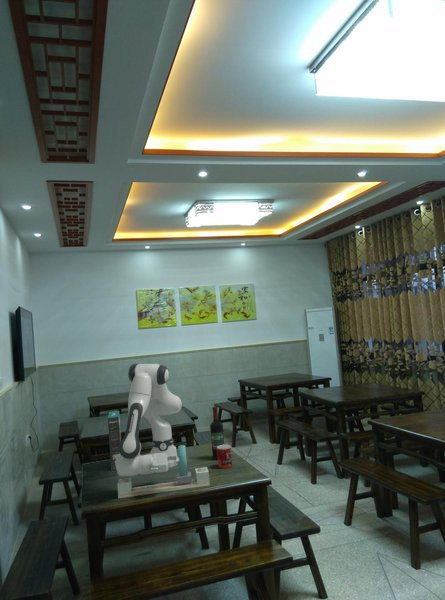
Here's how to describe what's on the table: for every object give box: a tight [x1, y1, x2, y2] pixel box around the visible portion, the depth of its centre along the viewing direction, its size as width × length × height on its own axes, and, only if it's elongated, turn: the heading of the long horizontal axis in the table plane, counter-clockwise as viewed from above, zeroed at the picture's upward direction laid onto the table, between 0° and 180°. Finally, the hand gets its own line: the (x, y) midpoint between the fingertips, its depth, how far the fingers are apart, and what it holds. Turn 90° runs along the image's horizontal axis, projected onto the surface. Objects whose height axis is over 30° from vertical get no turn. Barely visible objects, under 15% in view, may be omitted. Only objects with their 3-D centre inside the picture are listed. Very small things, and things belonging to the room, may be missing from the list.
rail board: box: [116, 466, 211, 499], centre depth 223 cm, size 8×44×7 cm, turn 99°
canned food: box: [217, 444, 233, 470], centre depth 250 cm, size 8×8×11 cm
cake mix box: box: [107, 410, 122, 472], centre depth 272 cm, size 22×6×30 cm, turn 12°
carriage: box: [176, 444, 193, 484], centre depth 225 cm, size 7×7×17 cm
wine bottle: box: [209, 406, 225, 461], centre depth 267 cm, size 8×8×30 cm
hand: (177, 460), depth 224 cm, fingers open, 8 cm apart
